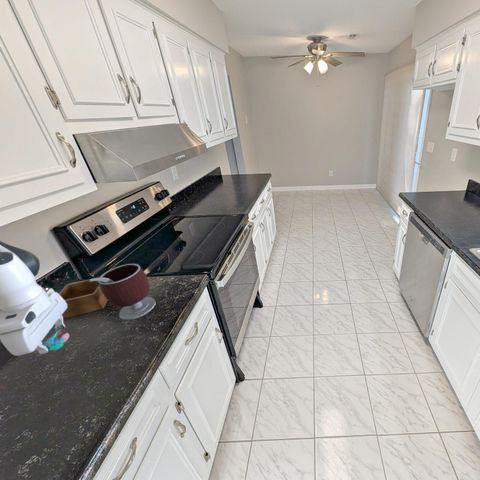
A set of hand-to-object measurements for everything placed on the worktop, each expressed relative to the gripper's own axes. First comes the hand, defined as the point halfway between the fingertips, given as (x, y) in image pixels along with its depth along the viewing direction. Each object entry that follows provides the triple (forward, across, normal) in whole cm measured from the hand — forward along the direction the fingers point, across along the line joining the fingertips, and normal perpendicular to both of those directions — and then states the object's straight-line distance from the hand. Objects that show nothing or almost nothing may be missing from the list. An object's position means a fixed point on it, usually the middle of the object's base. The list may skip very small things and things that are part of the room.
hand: (53, 340), depth 78 cm
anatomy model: (+2, -1, 0) cm, 2 cm away
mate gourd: (+8, -17, +15) cm, 24 cm away
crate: (+8, -30, -5) cm, 32 cm away
